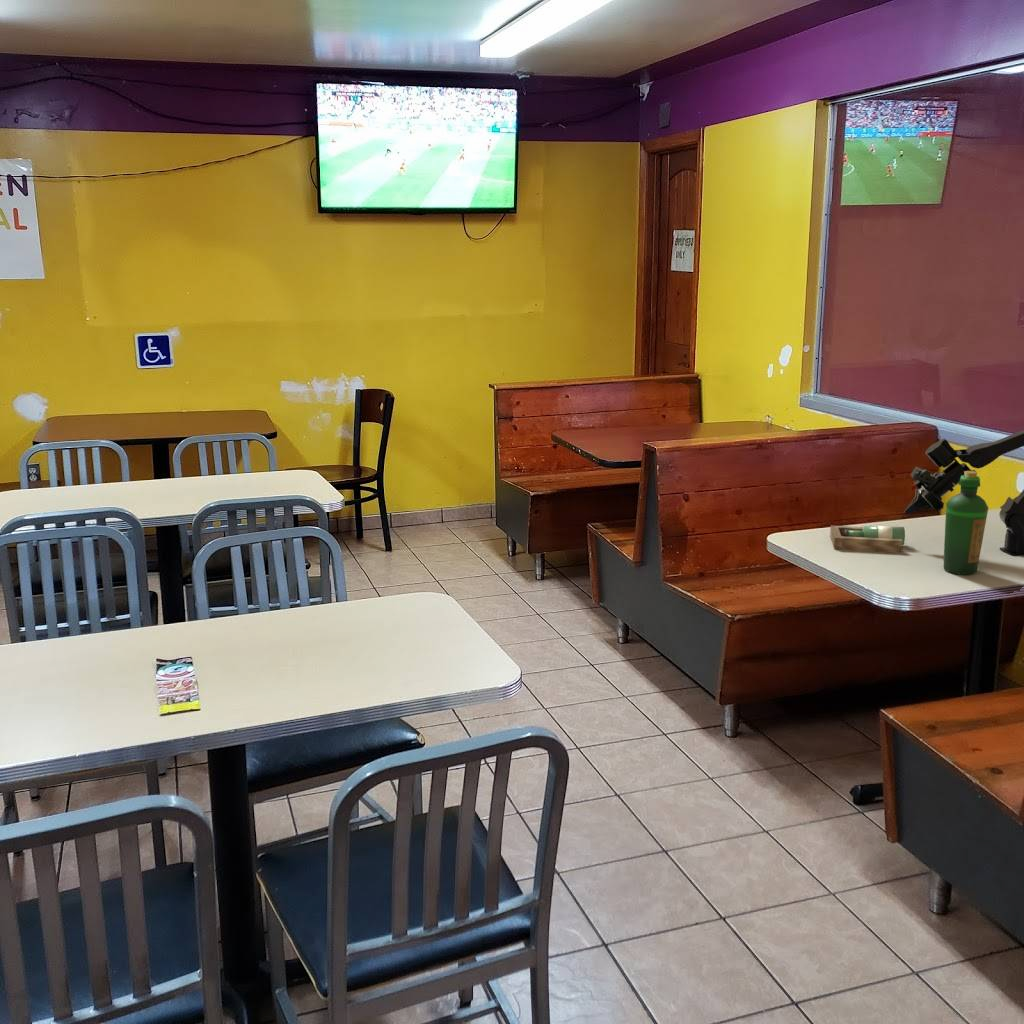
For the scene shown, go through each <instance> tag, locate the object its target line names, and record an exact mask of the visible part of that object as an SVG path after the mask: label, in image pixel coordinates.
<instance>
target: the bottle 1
mask: <svg viewBox="0 0 1024 1024" xmlns="http://www.w3.org/2000/svg"><path fill="white" fill-rule="evenodd" d="M862 527H863V528H862V531H853V530H845V531H844V536H846V537H865V538H885V539H901V540H902V546H904V545H905V541H906V529H905V527H904V526H889V525H888V526H886V525H862Z"/></svg>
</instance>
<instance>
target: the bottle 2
mask: <svg viewBox="0 0 1024 1024" xmlns="http://www.w3.org/2000/svg"><path fill="white" fill-rule="evenodd" d="M975 471H976V470H975ZM975 471H964V474H965V475H962V476H961V478H960V481H959V484H958V486H960V493H957V494H955V495H953V496H952V497H950V498H949V499H948V500H947V502H946V505H945V519H944V520H945V523H944V524H945V525H944V543H943V544H944V546H943V569H944V570H945V571H947V572H949V573H951V574H954V575H964V576H966V575H967V576H968V575H973V574H975V573H976V572H978V569H979V568H978V567H979V562H980V555H981V550H982V545H983V540H984V535H985V529H986V528H985V527H986V523H987V517H988V511H989V505H988V503H987V502H986V501H985V499H984V498H983V497H981V496H980V495H978V488H979V487H981V478H980V477H979V476H978V472H977V471H976V472H975Z"/></svg>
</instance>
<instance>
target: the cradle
mask: <svg viewBox="0 0 1024 1024" xmlns="http://www.w3.org/2000/svg"><path fill="white" fill-rule="evenodd" d="M862 528H863V526H848V525H847V526H846V525H830V528H829V529H830V533H829V538H830V541H831V545H832V547H833V549H834V550H848V551H849V550H850V551H864V552H868V551H869V552H880V553H881V552H883V553H898V554H899V553H902V549H903V545H902V540H901V539H885V538H865V537H846V536H844V531H845V530H853V531H862Z"/></svg>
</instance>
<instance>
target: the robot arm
mask: <svg viewBox="0 0 1024 1024" xmlns="http://www.w3.org/2000/svg"><path fill="white" fill-rule="evenodd" d="M1022 447H1024V429H1022V430H1020V431H1017V432H1015V433H1012V434H1010V435H1007V436H1006V437H1003V438H1000V439H998V440H996V441H995V440H994V441H990V442H981V443H978V444H974V445H970V446H968V447H966V448H964V449H954V448H953V446H951V444H950V443H949V441H948V440H947V439H946V438H942V439H941V440H939V441H936V442H935V443H933V444H931V445H929V447H928V448H927V449H926V450H925V455H926V456H927V457H928V458H929V460H931V461H932V462H933V464H934V465H935V466H936V467H938V468H943V470H942V471H941V472H935V473H933V474H932V473H931V471H929V470H927V469H922V468H920V467H918V466H915V467H914V468H913V470H912V472H911V473H910V477H911V478H912V479H913V480H915V481H914V482H913V484H914V486H916V488H915V489H914V491H915V493H914V494H915V496H914V497H913V499H912V500H911V501H910V503H909V504H908V506H907V507H906V508H905V510H904V511H903V512H904V514H905V515H910V514H914V513H917V512H922V511H925V510H929V509H933V508H934V509H935V510H936V512H940V511H942V509H944V506H945V503H944V502H943V498H942V497H944V495H946V494H948V492H951V493H952V492H953V491H954V490H955V489H954V488H955V487H956V486H958V485H959V481H960V478H961V476H962V475H965V474H964V471H975V472H977V471H976V470H975V469H982V468H984V467H985V466H988V465H989V464H992V463H993V462H995V461H996V460H997V459H998V458H999V457H1001V456H1003V455H1005V454H1007V453H1010V452H1012V451H1015V450H1018V449H1020V448H1022ZM957 458H958V460H960V461H958V460H957ZM960 462H961V463H960ZM962 462H963V463H962ZM967 464H968V465H969V466H970V467H972V468H975V469H971V468H970V467H969V466H968V465H967ZM917 488H918V489H917ZM999 508H1000V511H999V518H1000V521H1001V522H1002V523H1003V524H1004V525H1005V527H1006V533H1005V537H1004V538H1005V539H1004V545H1003V546H1002V547H999V550H1001V551H1002V552H1005V553H1007V554H1009V555H1011V556H1021V555H1023V556H1024V489H1022V491H1021V492H1020V494H1018V495H1017V496H1016V497H1014V498H1012V497H1010V496H1008V497H1007V499H1006V500H1005V502H1004V504H1002V505H1001V506H1000V507H999Z"/></svg>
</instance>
